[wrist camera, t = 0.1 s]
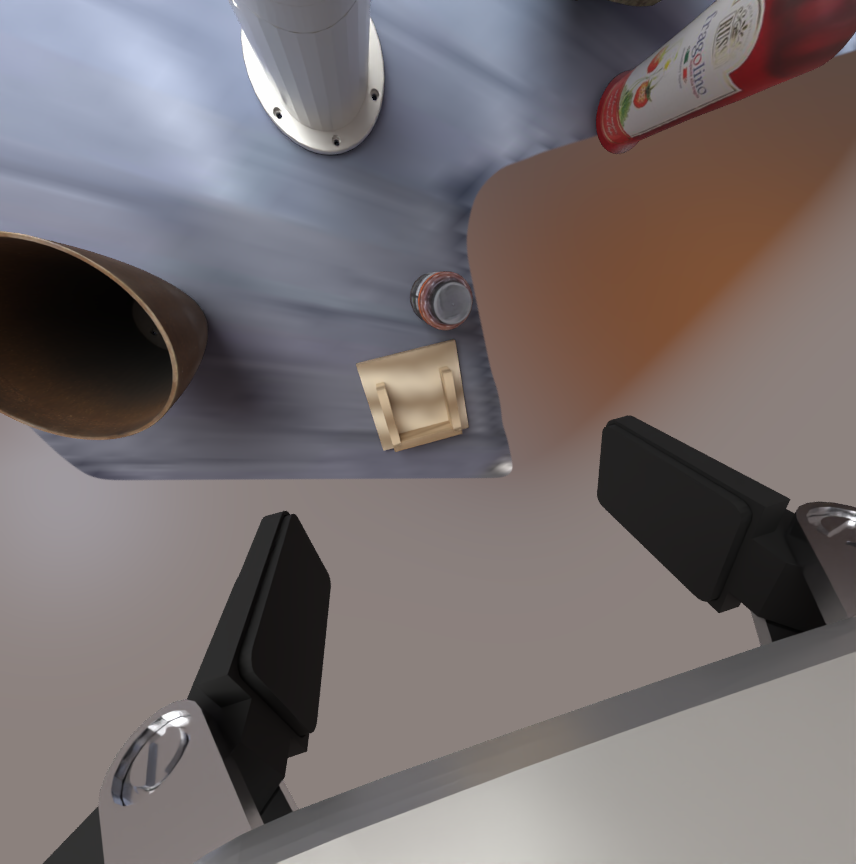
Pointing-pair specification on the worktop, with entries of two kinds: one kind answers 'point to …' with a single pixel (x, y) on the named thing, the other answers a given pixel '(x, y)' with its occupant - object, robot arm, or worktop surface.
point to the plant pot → (91, 341)
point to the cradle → (415, 395)
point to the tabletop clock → (636, 2)
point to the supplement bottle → (441, 299)
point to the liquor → (721, 63)
